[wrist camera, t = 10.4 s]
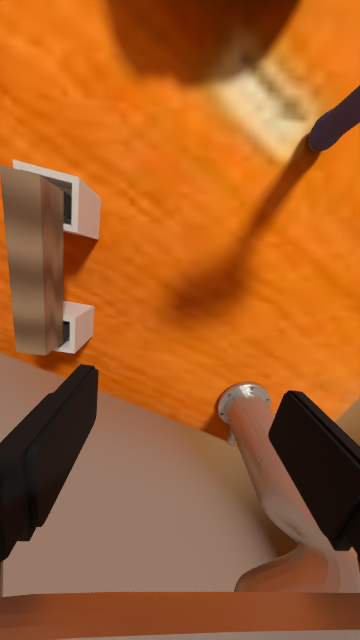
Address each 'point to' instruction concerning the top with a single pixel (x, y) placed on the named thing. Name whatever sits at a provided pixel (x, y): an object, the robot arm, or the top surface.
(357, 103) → the rubber mallet
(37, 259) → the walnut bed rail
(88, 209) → the twin hollow square sockets
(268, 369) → the top surface
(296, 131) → the top surface
